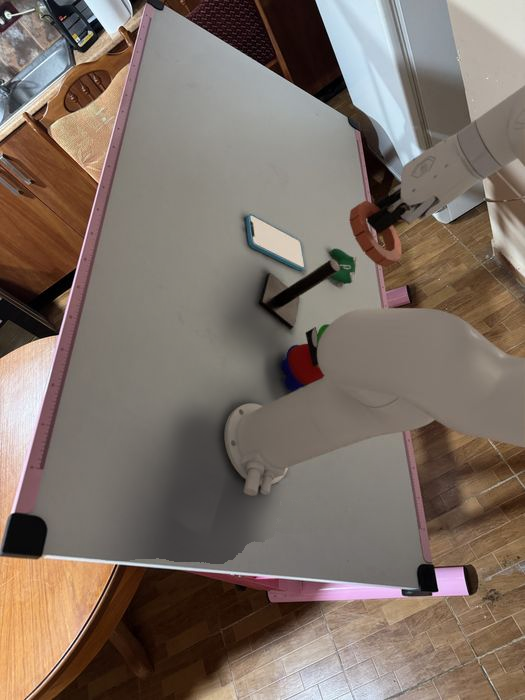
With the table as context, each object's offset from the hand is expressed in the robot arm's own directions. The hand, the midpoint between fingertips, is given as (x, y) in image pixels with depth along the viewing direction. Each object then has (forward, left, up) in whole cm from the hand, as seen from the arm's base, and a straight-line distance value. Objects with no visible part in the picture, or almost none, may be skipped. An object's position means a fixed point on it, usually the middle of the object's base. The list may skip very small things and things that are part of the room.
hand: (373, 220), depth 90 cm
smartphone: (+10, +2, -24) cm, 26 cm away
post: (-3, -2, -23) cm, 23 cm away
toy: (-17, -7, -24) cm, 30 cm away
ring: (-4, 0, 0) cm, 4 cm away
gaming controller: (+18, -15, -24) cm, 33 cm away
